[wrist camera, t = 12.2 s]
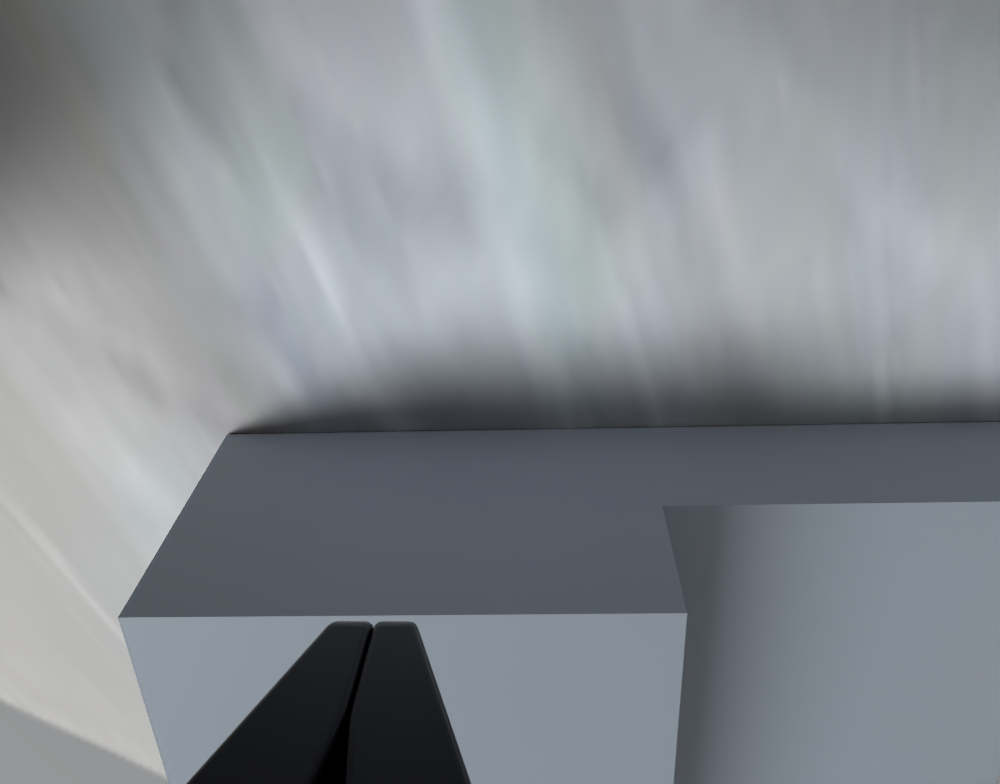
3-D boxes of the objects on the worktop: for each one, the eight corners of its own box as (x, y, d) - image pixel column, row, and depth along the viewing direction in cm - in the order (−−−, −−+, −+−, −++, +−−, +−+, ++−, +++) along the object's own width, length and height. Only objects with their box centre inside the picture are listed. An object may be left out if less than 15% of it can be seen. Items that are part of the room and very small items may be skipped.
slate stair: (288, 728, 26) (221, 952, 20) (227, 434, 21) (118, 617, 16) (930, 727, 25) (1047, 959, 20) (1012, 421, 21) (1195, 609, 15)
